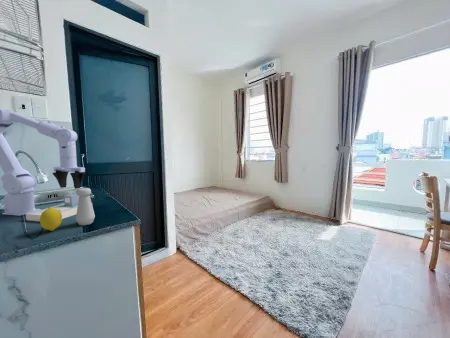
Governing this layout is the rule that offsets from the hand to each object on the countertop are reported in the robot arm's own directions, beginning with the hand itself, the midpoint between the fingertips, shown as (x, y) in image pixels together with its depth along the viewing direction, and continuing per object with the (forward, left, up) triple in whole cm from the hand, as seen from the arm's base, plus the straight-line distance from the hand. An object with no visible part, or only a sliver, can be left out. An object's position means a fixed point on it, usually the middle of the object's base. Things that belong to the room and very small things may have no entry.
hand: (70, 187), depth 88 cm
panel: (+1, -5, -10) cm, 11 cm away
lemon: (+15, -20, -10) cm, 27 cm away
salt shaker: (+20, -12, -10) cm, 26 cm away
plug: (+1, 0, -10) cm, 10 cm away
